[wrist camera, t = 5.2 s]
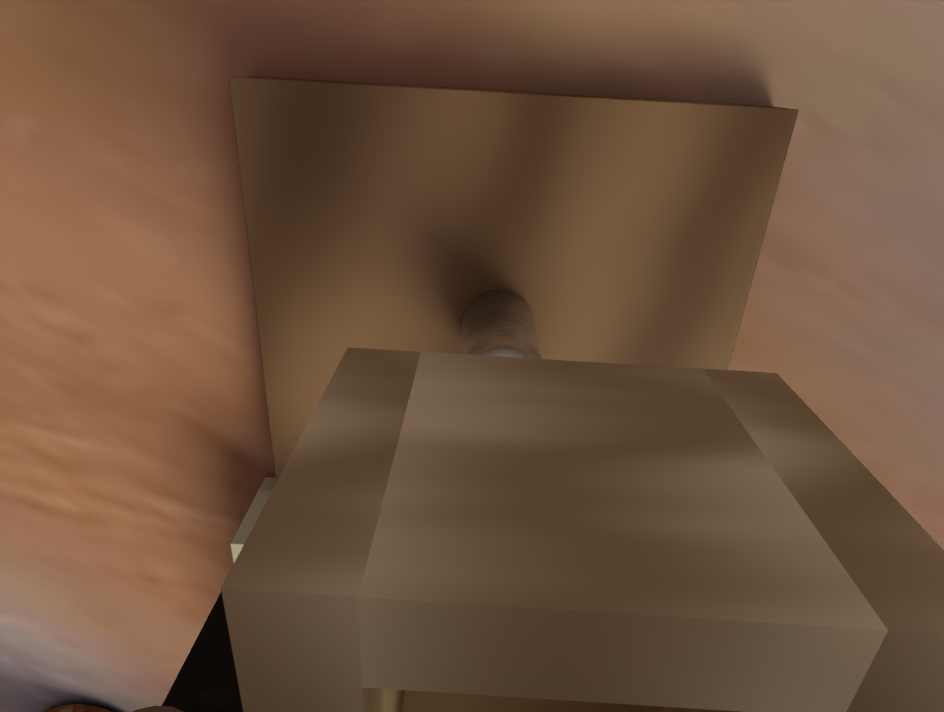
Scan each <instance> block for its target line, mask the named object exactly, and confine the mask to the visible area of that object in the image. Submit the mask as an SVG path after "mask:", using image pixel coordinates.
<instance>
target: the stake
mask: <svg viewBox="0 0 944 712" xmlns="http://www.w3.org/2000/svg"><path fill="white" fill-rule="evenodd" d="M460 354H466V355H483V356H499V357H516V358H532V359H543V357H542V352H541V348H540V343H539V339H538V334H537V330H536V325H535V321H534V316H533V312H532V310H531V308H530V306H529V305H528V303H527V302H526V301H525V300H524V299H523V298H522V297H520V296H519V295H517V294H516V293H513V292H511V291H507V290H490V291H486V292H484V293H481V294H480V295H478V296H476V297H475V298H474V299H473V300H472V301H471V302H470V303H469V304H468V305H467V307H466V309H465V311H464V314H463V317H462V328H461V344H460Z"/></svg>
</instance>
